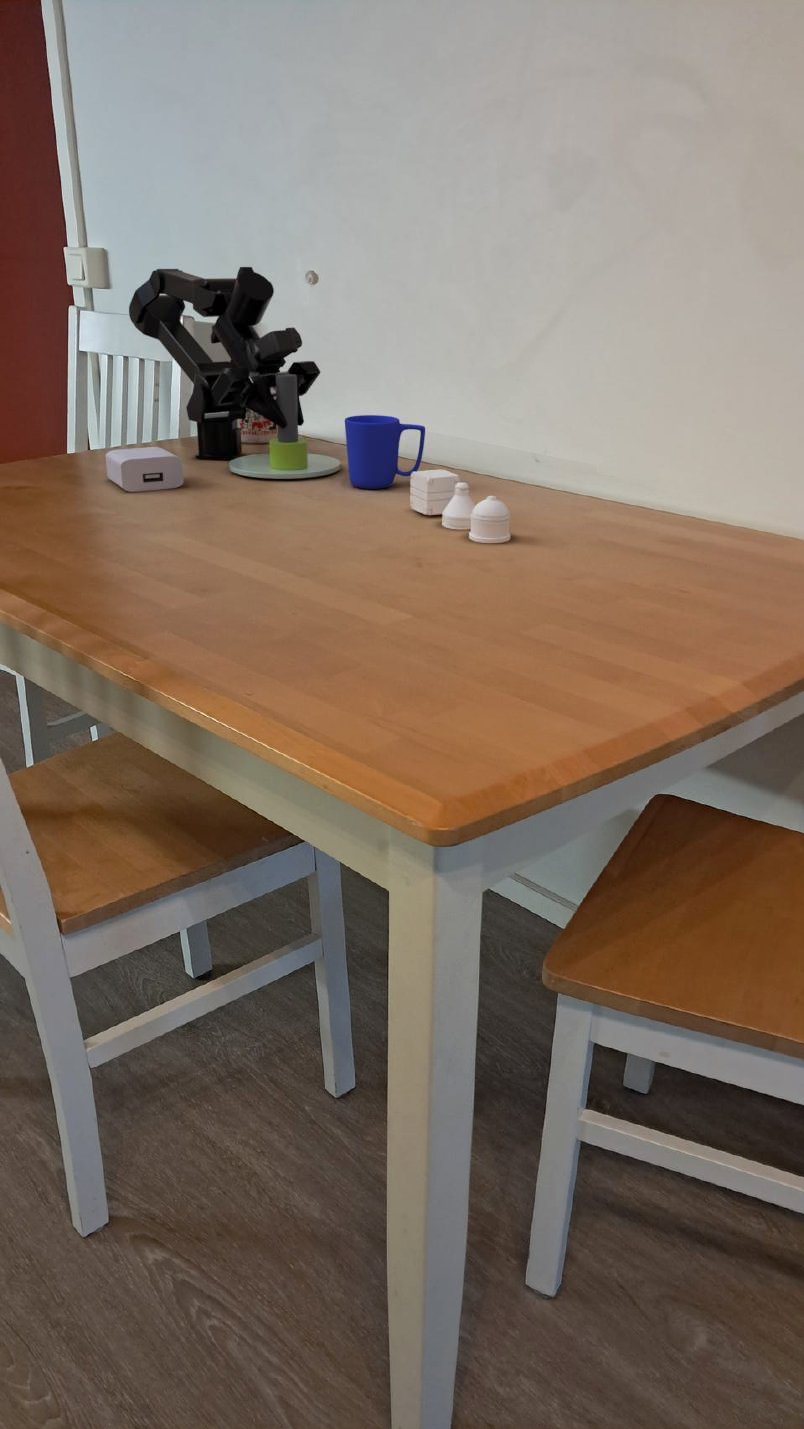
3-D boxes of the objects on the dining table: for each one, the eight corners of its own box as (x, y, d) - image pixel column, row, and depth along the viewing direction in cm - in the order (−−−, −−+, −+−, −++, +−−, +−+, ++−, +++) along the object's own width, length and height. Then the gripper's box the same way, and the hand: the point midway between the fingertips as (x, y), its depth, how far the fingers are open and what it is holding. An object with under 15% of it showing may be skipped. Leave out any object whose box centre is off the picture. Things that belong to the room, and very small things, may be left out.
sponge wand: (270, 470, 167) (267, 377, 161) (269, 463, 172) (265, 372, 167) (309, 469, 168) (306, 376, 162) (306, 462, 173) (304, 372, 168)
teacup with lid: (237, 445, 194) (234, 378, 189) (227, 437, 201) (224, 372, 197) (301, 442, 197) (299, 376, 193) (289, 434, 205) (287, 371, 201)
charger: (155, 469, 173) (184, 487, 161) (97, 474, 169) (123, 492, 157) (152, 439, 171) (181, 455, 159) (94, 444, 167) (120, 460, 155)
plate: (214, 478, 167) (214, 470, 166) (247, 457, 183) (246, 450, 182) (327, 483, 164) (326, 475, 164) (349, 462, 180) (349, 454, 180)
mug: (423, 492, 159) (425, 424, 155) (343, 491, 159) (342, 422, 155) (424, 481, 167) (425, 415, 163) (347, 480, 167) (346, 414, 163)
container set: (409, 510, 148) (409, 471, 146) (442, 507, 150) (443, 468, 148) (482, 545, 132) (484, 501, 130) (518, 540, 134) (520, 497, 132)
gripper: (218, 311, 157) (271, 396, 154) (311, 307, 169) (361, 385, 167) (189, 363, 165) (239, 444, 162) (279, 355, 177) (326, 431, 175)
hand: (293, 425), depth 167 cm, fingers closed on sponge wand, 3 cm apart
